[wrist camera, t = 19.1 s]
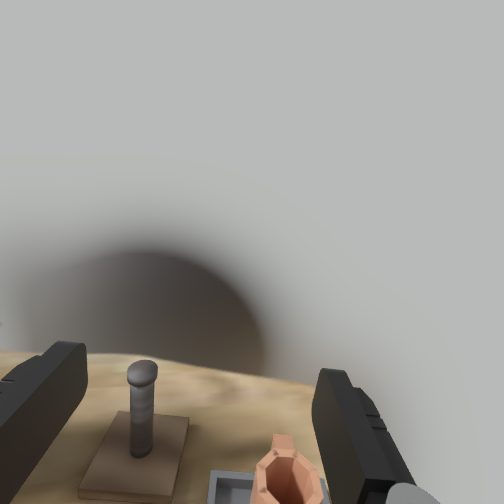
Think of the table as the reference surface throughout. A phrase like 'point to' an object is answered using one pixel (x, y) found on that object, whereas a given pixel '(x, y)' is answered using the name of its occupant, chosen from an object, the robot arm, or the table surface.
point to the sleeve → (285, 476)
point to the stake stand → (138, 448)
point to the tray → (238, 487)
